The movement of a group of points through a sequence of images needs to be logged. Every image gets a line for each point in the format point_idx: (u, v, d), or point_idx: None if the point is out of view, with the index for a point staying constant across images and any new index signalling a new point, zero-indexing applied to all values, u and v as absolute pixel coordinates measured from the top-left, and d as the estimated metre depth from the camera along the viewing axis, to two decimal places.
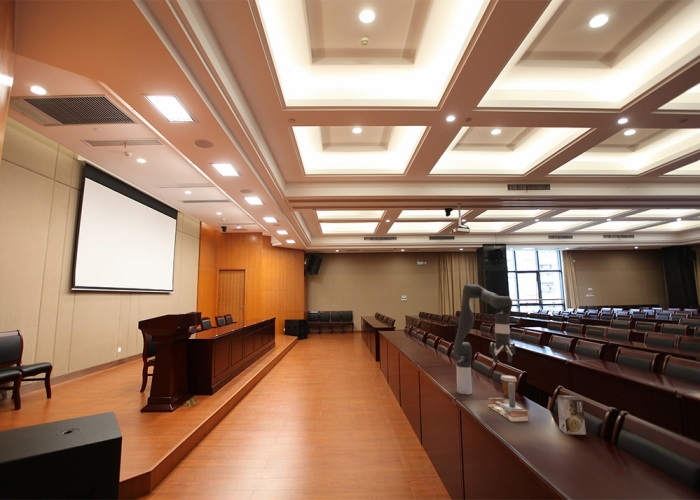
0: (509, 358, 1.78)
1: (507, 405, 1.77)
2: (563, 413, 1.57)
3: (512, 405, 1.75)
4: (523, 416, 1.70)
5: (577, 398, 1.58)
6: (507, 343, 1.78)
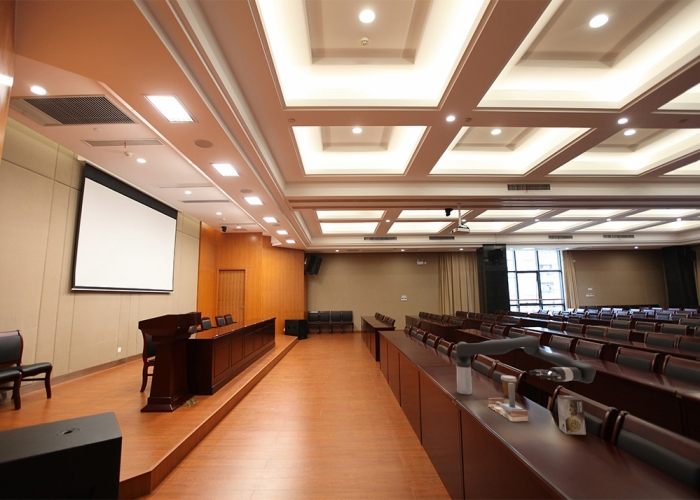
0: (533, 373, 1.84)
1: (507, 405, 1.77)
2: (563, 413, 1.57)
3: (512, 405, 1.75)
4: (523, 416, 1.70)
5: (577, 398, 1.58)
6: None
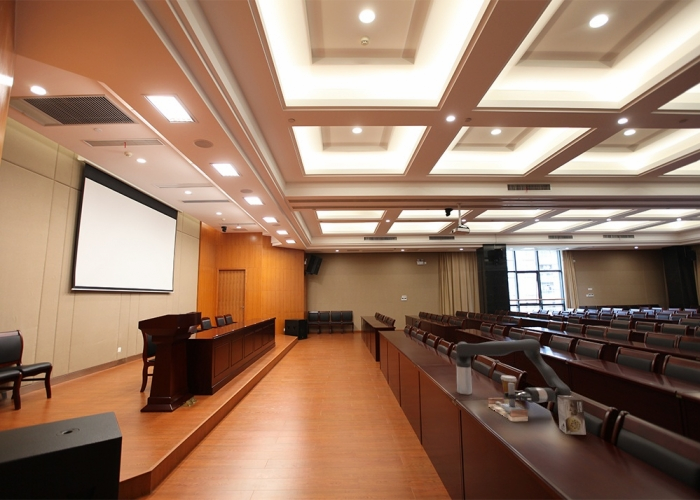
0: None
1: (507, 405, 1.77)
2: (563, 413, 1.57)
3: (512, 405, 1.75)
4: (523, 416, 1.70)
5: (577, 398, 1.58)
6: None
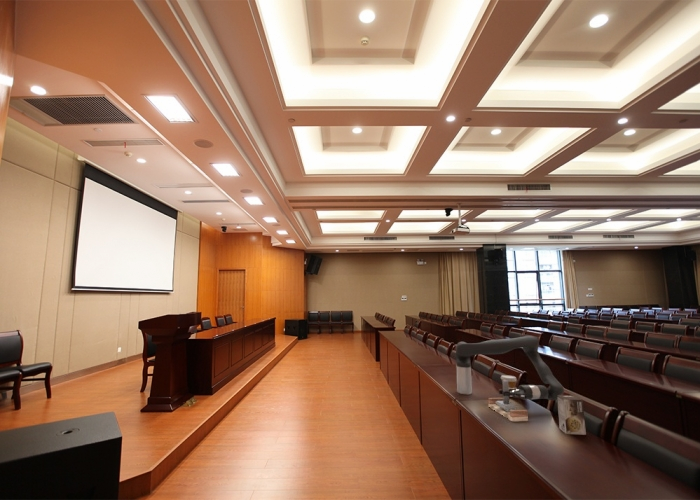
0: (502, 392, 1.83)
1: (501, 402, 1.83)
2: (563, 413, 1.57)
3: (506, 402, 1.80)
4: (523, 416, 1.70)
5: (577, 398, 1.58)
6: None
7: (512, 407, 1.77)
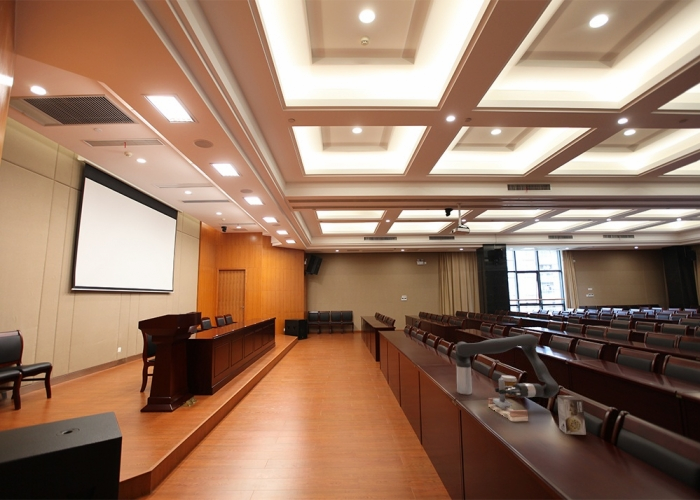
0: (499, 390, 1.87)
1: (497, 400, 1.86)
2: (563, 413, 1.57)
3: (502, 400, 1.84)
4: (523, 416, 1.70)
5: (577, 398, 1.58)
6: None
7: (508, 405, 1.81)
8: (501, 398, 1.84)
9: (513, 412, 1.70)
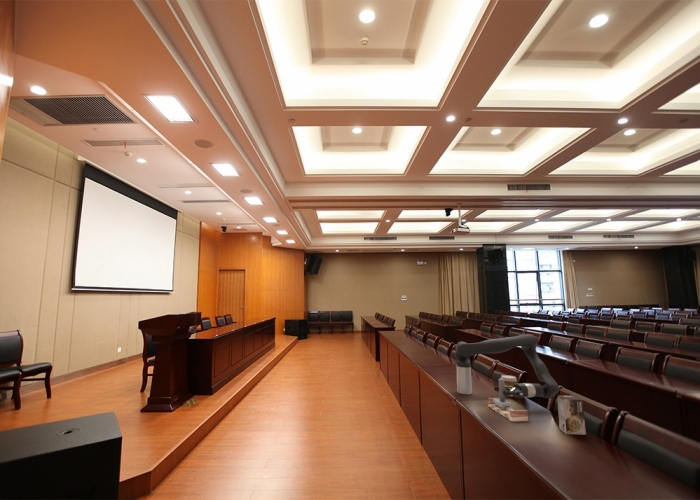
0: (498, 389, 1.90)
1: (497, 400, 1.86)
2: (563, 413, 1.57)
3: (502, 400, 1.84)
4: (523, 416, 1.70)
5: (577, 398, 1.58)
6: None
7: (508, 405, 1.81)
8: (501, 398, 1.84)
9: (513, 412, 1.70)
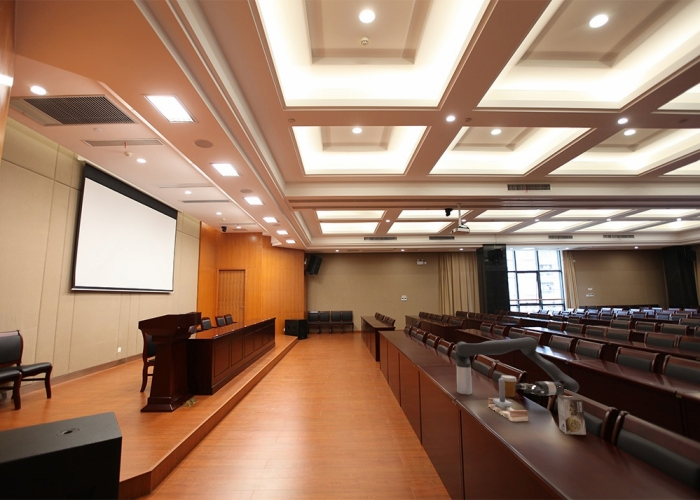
0: (518, 387, 1.92)
1: (497, 400, 1.86)
2: (563, 413, 1.57)
3: (502, 400, 1.84)
4: (523, 416, 1.70)
5: (577, 398, 1.58)
6: None
7: (508, 405, 1.81)
8: (501, 398, 1.84)
9: (513, 412, 1.70)
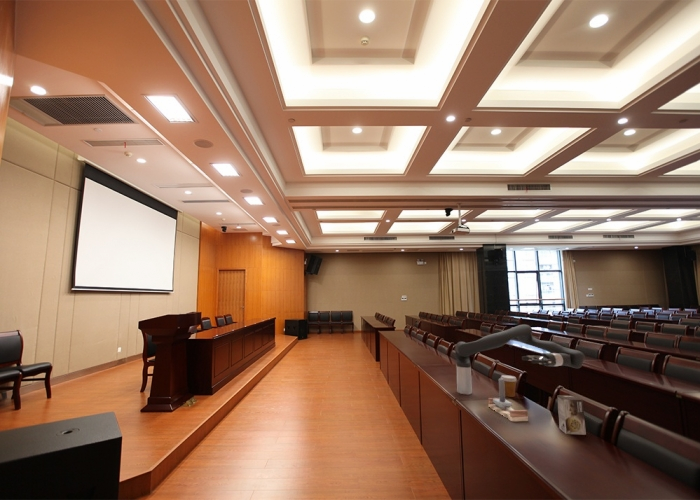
0: (525, 359, 1.95)
1: (497, 400, 1.86)
2: (563, 413, 1.57)
3: (502, 400, 1.84)
4: (523, 416, 1.70)
5: (577, 398, 1.58)
6: None
7: (508, 405, 1.81)
8: (501, 398, 1.84)
9: (513, 412, 1.70)
